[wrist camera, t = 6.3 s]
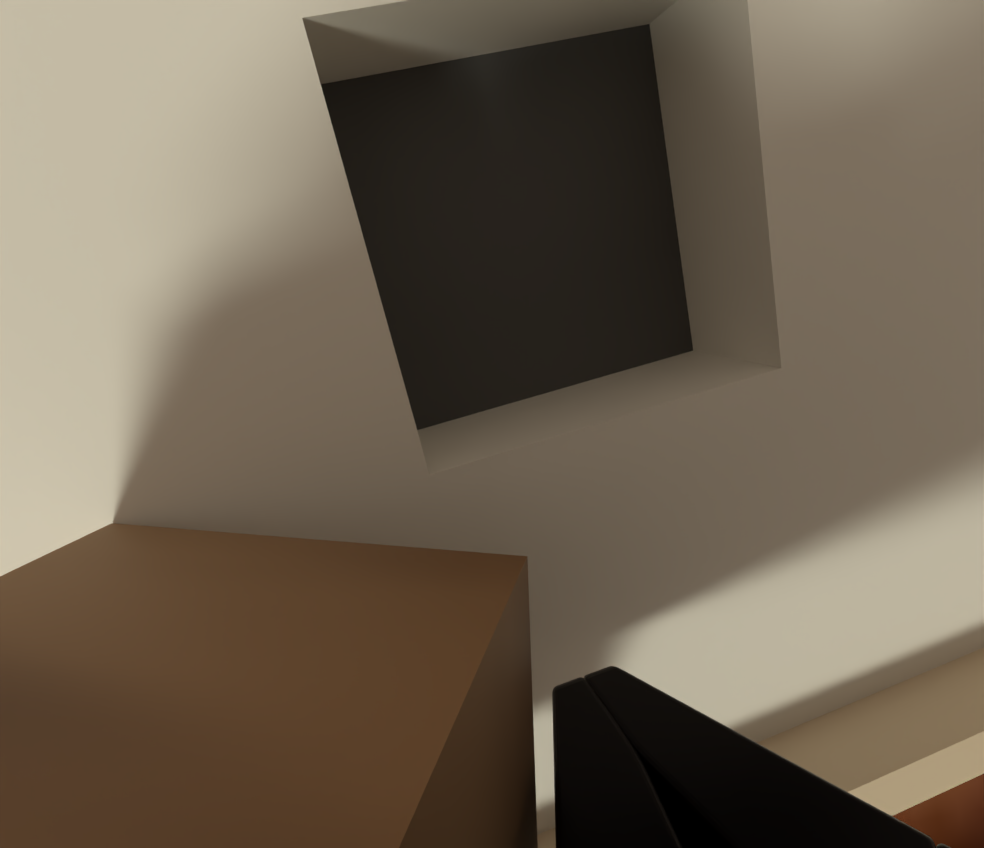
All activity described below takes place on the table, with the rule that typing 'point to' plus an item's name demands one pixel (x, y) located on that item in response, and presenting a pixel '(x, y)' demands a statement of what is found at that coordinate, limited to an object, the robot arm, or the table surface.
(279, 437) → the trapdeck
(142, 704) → the block
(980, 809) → the table surface
